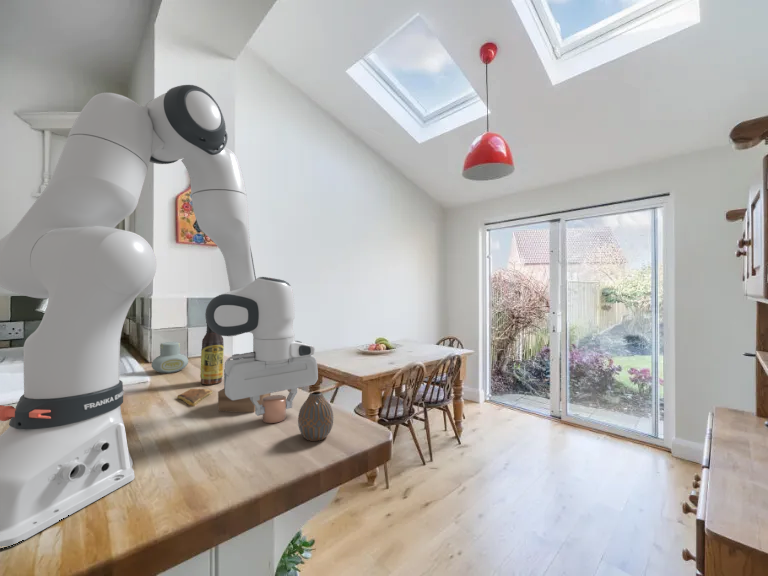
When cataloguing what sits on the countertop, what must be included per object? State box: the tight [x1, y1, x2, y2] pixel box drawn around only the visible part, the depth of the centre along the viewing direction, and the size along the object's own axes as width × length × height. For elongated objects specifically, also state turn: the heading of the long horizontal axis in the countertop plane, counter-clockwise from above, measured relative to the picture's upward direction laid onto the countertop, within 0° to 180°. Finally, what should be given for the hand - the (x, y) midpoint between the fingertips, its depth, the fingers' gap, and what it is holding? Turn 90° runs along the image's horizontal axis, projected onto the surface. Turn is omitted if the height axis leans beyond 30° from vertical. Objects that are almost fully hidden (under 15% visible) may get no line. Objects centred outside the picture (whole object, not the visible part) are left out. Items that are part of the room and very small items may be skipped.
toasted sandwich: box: [176, 388, 213, 407], centre depth 91 cm, size 11×8×2 cm
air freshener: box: [151, 341, 189, 374], centre depth 121 cm, size 11×8×10 cm
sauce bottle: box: [199, 322, 225, 386], centre depth 106 cm, size 6×6×20 cm
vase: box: [297, 390, 334, 442], centre depth 68 cm, size 7×7×9 cm
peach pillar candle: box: [262, 394, 287, 424], centre depth 77 cm, size 5×5×4 cm
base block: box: [217, 388, 272, 413], centre depth 87 cm, size 9×9×5 cm
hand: (274, 411), depth 77 cm, fingers closed on peach pillar candle, 5 cm apart
